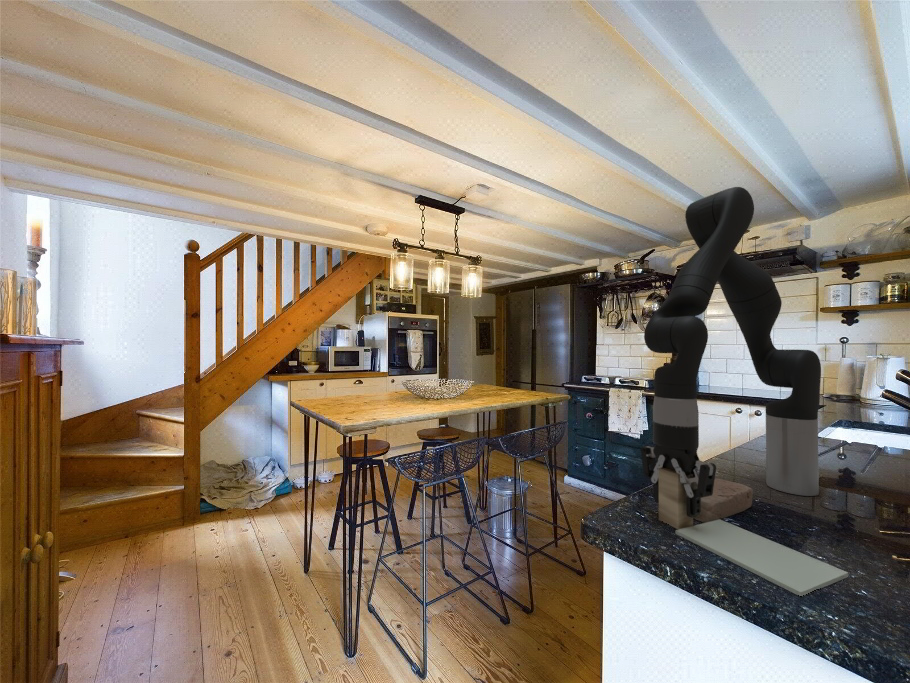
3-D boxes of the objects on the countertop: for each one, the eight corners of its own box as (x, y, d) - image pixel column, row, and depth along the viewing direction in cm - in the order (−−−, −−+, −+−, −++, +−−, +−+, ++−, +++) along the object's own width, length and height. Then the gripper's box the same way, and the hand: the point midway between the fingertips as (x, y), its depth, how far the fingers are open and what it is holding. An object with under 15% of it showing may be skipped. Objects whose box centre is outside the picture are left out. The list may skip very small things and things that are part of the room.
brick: (709, 526, 69) (709, 501, 69) (666, 508, 77) (666, 486, 77) (754, 509, 77) (754, 487, 77) (711, 495, 84) (711, 474, 84)
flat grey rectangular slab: (719, 522, 70) (719, 519, 70) (848, 576, 53) (848, 572, 53) (675, 533, 66) (675, 530, 66) (801, 596, 49) (801, 592, 49)
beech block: (673, 516, 73) (673, 464, 73) (693, 525, 69) (692, 471, 69) (658, 519, 71) (658, 467, 71) (678, 529, 67) (677, 473, 68)
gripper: (727, 426, 65) (728, 522, 65) (656, 413, 78) (656, 492, 78) (699, 430, 62) (699, 530, 62) (629, 415, 76) (630, 497, 75)
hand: (675, 508), depth 70 cm, fingers open, 6 cm apart
